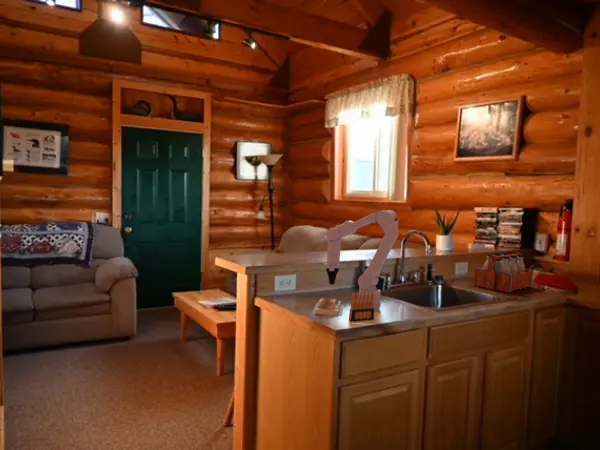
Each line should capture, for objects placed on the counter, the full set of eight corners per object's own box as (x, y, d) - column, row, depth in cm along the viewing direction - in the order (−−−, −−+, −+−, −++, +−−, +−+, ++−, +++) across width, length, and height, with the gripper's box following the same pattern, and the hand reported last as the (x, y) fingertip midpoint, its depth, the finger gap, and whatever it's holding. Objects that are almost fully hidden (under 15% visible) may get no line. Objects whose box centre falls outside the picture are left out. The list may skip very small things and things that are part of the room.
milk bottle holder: (470, 286, 273) (472, 252, 271) (499, 280, 296) (502, 249, 294) (506, 293, 257) (509, 258, 256) (534, 287, 280) (537, 254, 278)
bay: (343, 306, 210) (343, 301, 210) (341, 317, 192) (341, 311, 192) (316, 304, 211) (316, 298, 211) (311, 314, 194) (312, 308, 194)
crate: (335, 310, 200) (335, 299, 199) (334, 314, 194) (334, 302, 193) (320, 309, 201) (321, 298, 200) (319, 313, 195) (320, 301, 194)
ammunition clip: (351, 322, 185) (352, 292, 184) (348, 321, 187) (350, 291, 186) (374, 320, 190) (376, 291, 189) (371, 319, 191) (373, 290, 190)
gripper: (326, 251, 222) (324, 280, 223) (323, 255, 207) (321, 286, 208) (341, 252, 221) (339, 281, 222) (339, 257, 206) (337, 288, 207)
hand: (331, 284), depth 215 cm, fingers closed
